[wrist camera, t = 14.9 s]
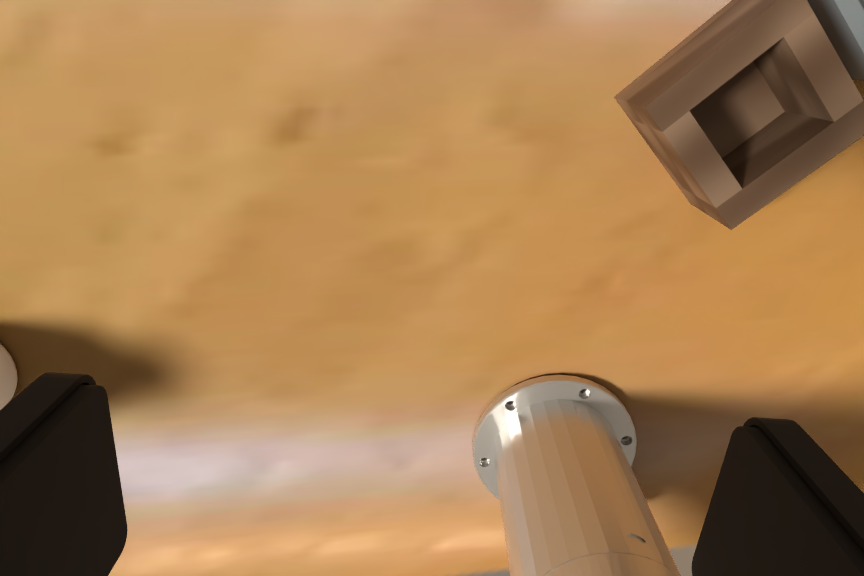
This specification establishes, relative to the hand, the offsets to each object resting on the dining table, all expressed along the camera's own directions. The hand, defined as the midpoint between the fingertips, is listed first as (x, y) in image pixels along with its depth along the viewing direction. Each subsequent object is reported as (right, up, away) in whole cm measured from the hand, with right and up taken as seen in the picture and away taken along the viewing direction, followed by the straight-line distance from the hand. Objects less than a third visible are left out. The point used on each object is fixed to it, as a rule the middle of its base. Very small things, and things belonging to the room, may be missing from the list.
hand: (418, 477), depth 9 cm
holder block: (+18, +14, +29) cm, 37 cm away
